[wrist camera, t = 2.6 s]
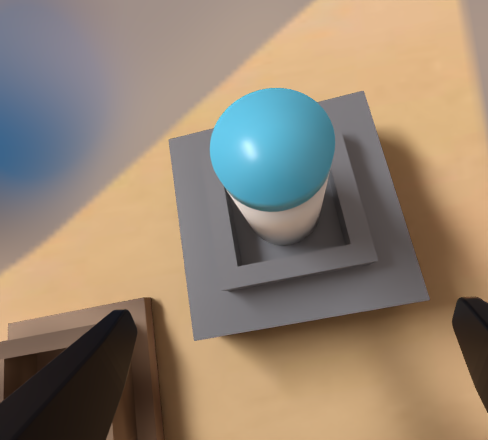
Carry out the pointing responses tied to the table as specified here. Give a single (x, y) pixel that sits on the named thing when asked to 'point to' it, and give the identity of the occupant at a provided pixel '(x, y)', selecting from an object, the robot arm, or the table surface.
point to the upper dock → (301, 253)
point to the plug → (275, 161)
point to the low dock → (66, 333)
